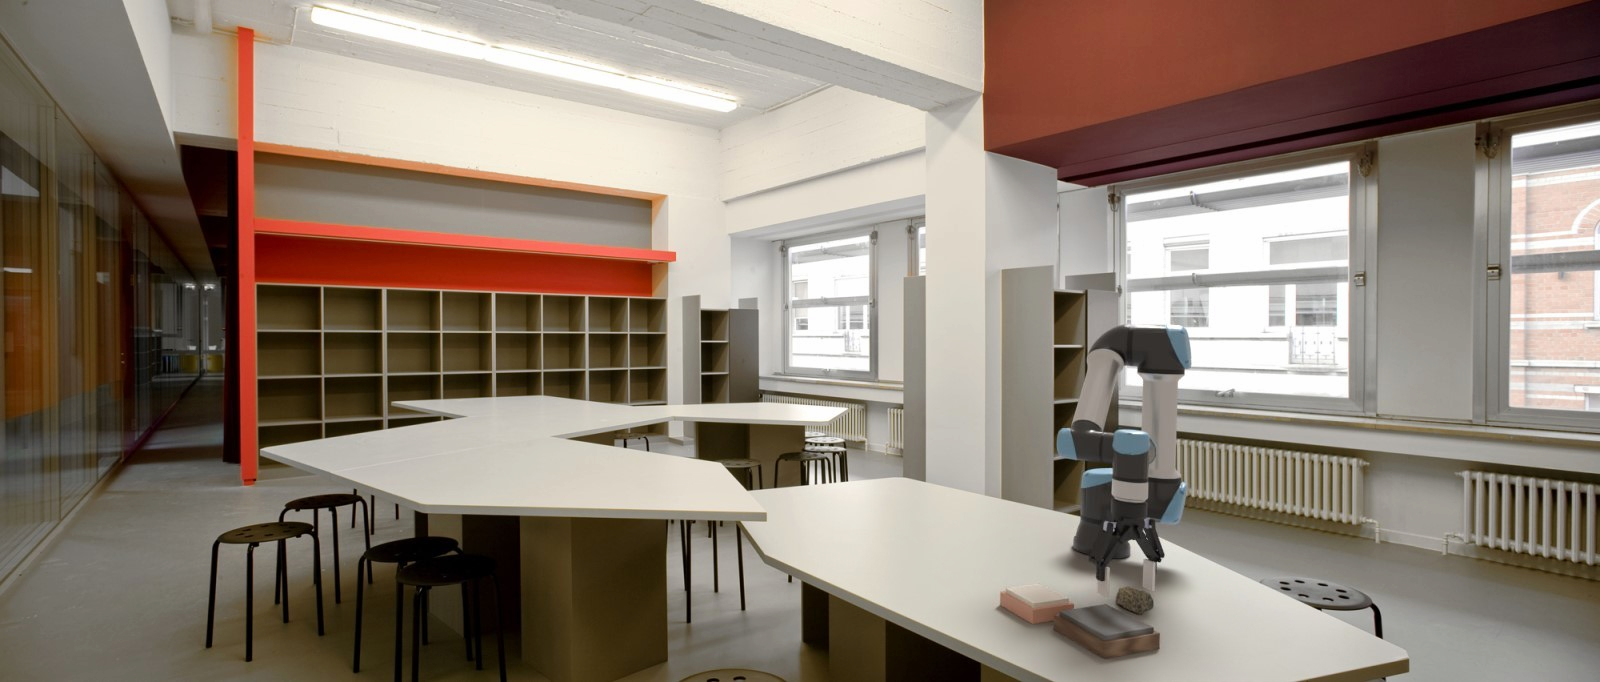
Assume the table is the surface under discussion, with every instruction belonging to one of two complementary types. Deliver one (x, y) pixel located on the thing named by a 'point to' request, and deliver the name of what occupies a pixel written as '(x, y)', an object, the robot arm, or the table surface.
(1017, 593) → the terracotta plinth
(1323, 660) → the table surface
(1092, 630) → the walnut plinth
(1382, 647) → the table surface
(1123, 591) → the rock
